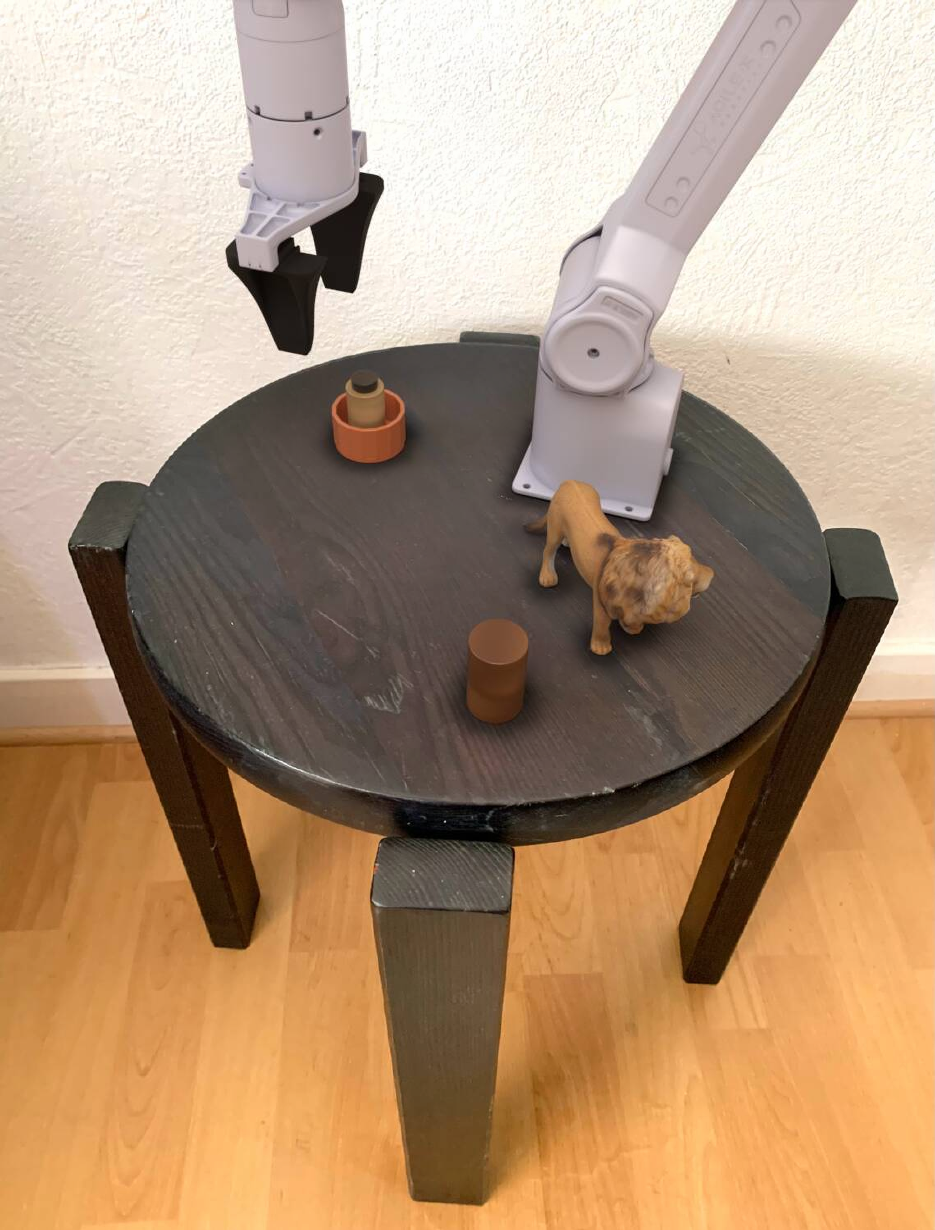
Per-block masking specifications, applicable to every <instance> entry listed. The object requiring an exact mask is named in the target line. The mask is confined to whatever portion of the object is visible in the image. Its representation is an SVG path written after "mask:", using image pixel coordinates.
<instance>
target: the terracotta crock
mask: <svg viewBox="0 0 935 1230" xmlns="http://www.w3.org/2000/svg"><path fill="white" fill-rule="evenodd" d="M384 395H385V417H386V425H385V426H381V427H378V428H367V429H362V428H357V427H353V426H350V425H349V424H348V411H347V399H346V391H345V392H344V393H342V394H341V395H339V396H337V398H336V399H335V400H334V402H333V403H332V404H331V417H332V418H331V419H332V429H333V438H334V439H333V441H334V445H335V448H336V450H337V451H338V452H339V454H340V455H341V456H343V457H344V458H345V459H348V460H350V461H353V462H356V463H362V464H376V463H382V462H385V461H388V460H390V459H392V458H395V457H396V456H397V455H398V454H400V452H401V451H402V450H403V449H404V447H405V445H406V437H407V436H406V409H405V408H406V407H405V402H404V401H403V400H402V398H401V397H400V396H399V395H398V394H396V393H395V392H393V391H391V390H389V389H386V388H384Z"/></svg>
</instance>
